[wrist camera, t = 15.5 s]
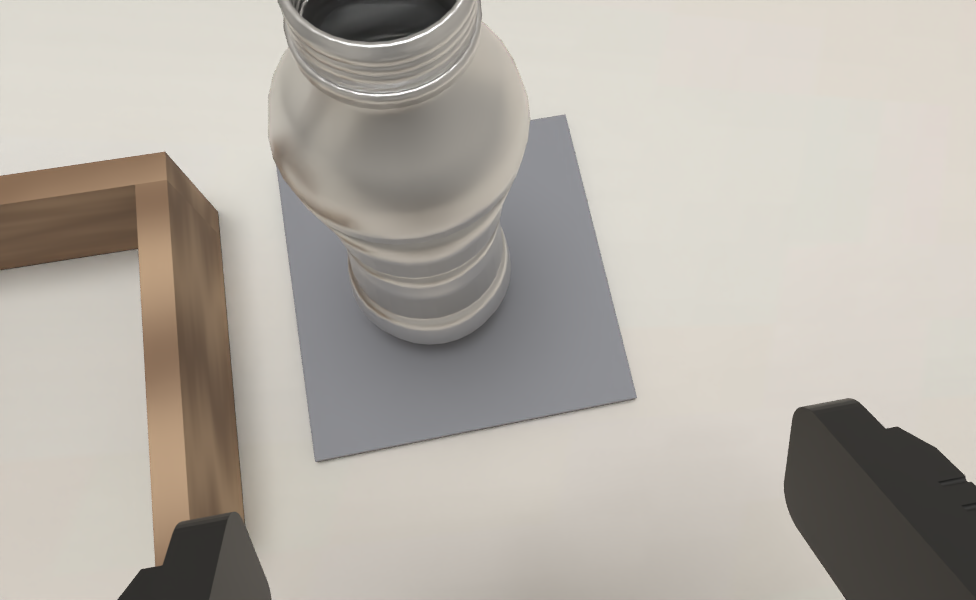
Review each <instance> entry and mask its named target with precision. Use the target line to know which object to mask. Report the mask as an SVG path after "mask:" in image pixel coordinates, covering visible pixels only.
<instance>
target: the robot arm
mask: <svg viewBox="0 0 976 600" xmlns="http://www.w3.org/2000/svg"><path fill="white" fill-rule="evenodd" d="M784 494H785V499H786V504H787V507H788V510H789V513H790V515H791V518H792V520H793V522H794V524H795V526H796V527H797V529H798V530H799V532H800V533H801V535H802V536H803V538H804V539H805V540H806V542H807V543H808V545H809V546H810V548H811V549H812V551H813V552H814V554H815V555H816V556H817V558H818V559H819V561H820V562H821V564H822V565H823V567H824V568H825V570H826V571H827V572H828V574H829V575H830V577H831V578H832V580H833V581H834V583H835V584H836V586H837V587H838V588H839V590H840V591H841V593H842V594H843V596H844V597H845V599H846V600H976V486H975V485H974V484H973V483H972V482H967V481H966V478H965V475H964V474H963V473H962V472H961V471H960V470H959V469H958V468H957V467H955V466H954V465H953V464H952V463H951V462H950V461H949V460H948V459H947V458H946V457H945V456H944V455H943V454H942V453H941V452H940V451H939V450H938V449H937V448H935V447H933V446H932V445H930V444H928V443H926V442H924V441H923V440H921V439H919V438H917V437H915V436H913V435H912V434H910V433H908V432H906V431H904V430H903V429H901V428H899V427H893V428H887V429H885V428H884V427H883V426H882V425H881V424H880V423H879V422H878V421H877V420H876V418H875V417H874V416H873V415H872V414H871V413H870V412H869V411H868V410H867V409H866V408H865V407H864V406H863V405H862V404H860V403H859V402H858V401H856V400H854V399H851V398H847V399H842V400H836V401H831V402H826V403H820V404H815V405H810V406H804V407H800V408H798V409H797V410H796V411H795V412H794V415H793V419H792V426H791V433H790V441H789V449H788V456H787V464H786V472H785V479H784ZM118 600H271V594H270V589H269V585H268V582H267V579H266V577H265V574H264V572H263V569H262V567H261V564H260V562H259V559H258V557H257V554H256V552H255V549H254V547H253V544H252V542H251V539H250V537H249V534H248V532H247V529H246V527H245V524H244V522H243V520H242V518H241V516H240V515H239V514H238V513H237V512H229V513H224V514H218V515H213V516H208V517H202V518H197V519H192V520H186V521H181V522H179V523H178V524H177V525H176V527H175V529H174V531H173V533H172V536H171V540H170V543H169V546H168V549H167V552H166V556H165V559H164V562H163V565H161V566H156V567H151V568H146V569H141V570H140V571H139V573H138V574H137V575H136V577H135V578H134V579H133V580H132V582H131V583H130V584H129V586H128V587H127V588H126V589H125V591H124V592H123V593H122V595H121V596H120V597H119V599H118Z"/></svg>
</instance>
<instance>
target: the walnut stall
mask: <svg viewBox="0 0 976 600" xmlns="http://www.w3.org/2000/svg"><path fill="white" fill-rule="evenodd" d="M131 249H138V251H139V270H140V288H141V307H142V326H143V344H144V363H145V382H146V400H147V419H148V438H149V456H150V475H151V493H152V512H153V531H154V549H155V567H156V566H161V565H163V562H164V559H165V556H166V552H167V549H168V546H169V543H170V540H171V536H172V533H173V531H174V529H175V527H176V525H177V524H178V523H179V522H181V521H186V520H192V519H197V518H202V517H208V516H213V515H218V514H224V513H229V512H237V513H238V514H239V515H240V516H241V518H242V520H243V522H244V510H243V498H242V487H241V475H240V463H239V452H238V440H237V429H236V417H235V405H234V394H233V382H232V370H231V359H230V347H229V336H228V324H227V312H226V301H225V289H224V277H223V266H222V254H221V243H220V231H219V219H218V211H217V210H216V209H215V208H214V207H213V206H212V205H211V204H210V202H209V201H208V200H207V199H206V198H205V197H204V196H203V194H202V193H201V192H200V191H199V190H198V189H197V188H196V186H195V185H194V184H193V183H192V182H191V181H190V180H189V178H188V177H187V176H186V175H185V174H184V173H183V172H182V170H181V169H180V168H179V167H178V166H177V165H176V164H175V162H174V161H173V160H172V159H171V158H170V157H169V156H168V154H167V153H166V152H160V153H153V154H146V155H140V156H133V157H126V158H119V159H112V160H105V161H99V162H92V163H85V164H78V165H71V166H65V167H58V168H51V169H44V170H37V171H30V172H24V173H17V174H10V175H3V176H0V270H3V269H9V268H16V267H22V266H28V265H35V264H41V263H48V262H54V261H61V260H67V259H73V258H80V257H86V256H93V255H99V254H105V253H112V252H118V251H125V250H131ZM244 524H245V522H244Z"/></svg>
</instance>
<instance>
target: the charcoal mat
mask: <svg viewBox="0 0 976 600" xmlns="http://www.w3.org/2000/svg"><path fill="white" fill-rule="evenodd" d="M276 167H277V165H276ZM277 174H278V182H279V190H280V197H281V205H282V212H283V220H284V228H285V235H286V243H287V251H288V258H289V266H290V273H291V281H292V289H293V296H294V304H295V312H296V319H297V327H298V334H299V342H300V350H301V357H302V365H303V373H304V380H305V388H306V395H307V403H308V411H309V418H310V426H311V434H312V441H313V449H314V456H315V461H316V462H319V461H324V460H329V459H335V458H340V457H345V456H350V455H355V454H360V453H365V452H370V451H375V450H380V449H385V448H390V447H395V446H400V445H405V444H410V443H415V442H420V441H425V440H430V439H435V438H440V437H445V436H451V435H456V434H461V433H466V432H471V431H476V430H481V429H486V428H491V427H496V426H501V425H506V424H511V423H516V422H521V421H526V420H531V419H536V418H541V417H546V416H551V415H556V414H561V413H567V412H572V411H577V410H582V409H587V408H592V407H597V406H602V405H607V404H612V403H617V402H622V401H627V400H632V399H635V398H637V396H636V392H635V388H634V384H633V380H632V376H631V372H630V368H629V364H628V360H627V356H626V353H625V349H624V345H623V341H622V337H621V333H620V329H619V325H618V321H617V317H616V313H615V309H614V305H613V301H612V297H611V293H610V289H609V285H608V281H607V277H606V274H605V270H604V266H603V262H602V258H601V254H600V250H599V246H598V242H597V238H596V234H595V230H594V226H593V222H592V218H591V214H590V210H589V206H588V202H587V198H586V195H585V191H584V187H583V183H582V179H581V175H580V171H579V167H578V163H577V159H576V155H575V151H574V147H573V143H572V139H571V135H570V131H569V127H568V123H567V119H566V116H565V115H559V116H553V117H547V118H541V119H535V120H530V125H529V133H528V141H527V144H526V148H525V151H524V155H523V158H522V161H521V164H520V167H519V170H518V173H517V175H516V177H515V179H514V181H513V184H512V186H511V188H510V190H509V192H508V194H507V196H506V198H505V200H504V203H503V205H502V210H501V215H500V226H501V228H502V229H503V232H504V235H505V238H506V242H507V245H508V249H509V253H510V262H511V273H510V281H509V285H508V288H507V291H506V294H505V296H504V298H503V300H502V301H501V303H500V305H499V307H498V308H497V310H496V311H495V312H494V313H493V314H492V315H491V316H490V317H489V319H488V320H487V321H486V322H485V323H484V324H483V325H482V326H480V327H479V328H478V329H476V330H475V331H474V332H472V333H471V334H469V335H467V336H465V337H463V338H460V339H458V340H455V341H451V342H448V343H444V344H433V345H427V344H417V343H412V342H409V341H406V340H402V339H399V338H397V337H395V336H393V335H391V334H389V333H387V332H385V331H383V330H381V329H380V328H379V327H378V326H376V325H375V324H374V323H373V322H372V321H370V320H369V319H368V317H367V316H366V315H365V314H364V312H363V311H362V310H361V309H360V307H359V305H358V303H357V301H356V299H355V297H354V295H353V292H352V288H351V284H350V279H349V273H348V252H347V249H346V247H345V245H344V244H343V243H342V242H341V240H340V239H339V237H338V236H337V235H336V234H335V233H334V232H333V231H332V230H331V229H330V228H328V227H327V226H326V225H325V224H324V223H323V222H322V221H321V220H319V219H318V218H317V217H316V216H315V215H314V214H313V213H312V212H310V211H309V210H308V209H307V208H306V206H305V205H304V204H303V203H302V201H301V200H300V199H299V198H298V197H297V195H296V194H295V193H294V192H293V190H292V189H291V188H290V187H289V185H288V184H287V183H286V182H285V180H284V179H283V177H282V175H281V173H280V171H279V169H278V167H277Z"/></svg>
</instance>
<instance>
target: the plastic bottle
mask: <svg viewBox="0 0 976 600" xmlns="http://www.w3.org/2000/svg"><path fill="white" fill-rule="evenodd" d="M278 3H279V6H280V8H281V11H282V14H283V17H284V31H285V35H286V39H287V43H288V46H289V47H288V49H287V50H286V51H285V53H284V54H283V55H282V57H281V60H280V62H279V64H278V66H277V68H276V70H275V72H274V74H273V78H272V82H271V86H270V91H269V95H268V138H269V143H270V147H271V151H272V155H273V159H274V161H275V163H276V165H277V167H278V169H279V171H280V173H281V175H282V177H283V179H284V180H285V182H286V183H287V184H288V185H289V187H290V188H291V189H292V190H293V192H294V193H295V194H296V195H297V197H298V198H299V199H300V200H301V201H302V203H303V204H304V205H305V206H306V208H307V209H308V210H309V211H310V212H312V213H313V214H314V215H315V216H316V217H317V218H318V219H319V220H321V221H322V222H323V223H324V224H325V225H326V226H327V227H328V228H330V229H331V230H332V231H333V232H334V233H335V234H336V235H337V236H338V237H339V239H340V240H341V242H342V243H343V244H344V245H345V247H346V249H347V252H348V273H349V279H350V284H351V288H352V292H353V295H354V297H355V299H356V301H357V303H358V305H359V307H360V309H361V310H362V311H363V312H364V314H365V315H366V316H367V317H368V319H369V320H370V321H372V322H373V323H374V324H375V325H376V326H378V327H379V328H380V329H381V330H383V331H385V332H387V333H389V334H391V335H393V336H395V337H397V338H399V339H402V340H406V341H409V342H412V343H417V344H427V345H433V344H444V343H448V342H451V341H455V340H458V339H460V338H463V337H465V336H467V335H469V334H471V333H472V332H474V331H475V330H476V329H478V328H479V327H480V326H482V325H483V324H484V323H485V322H486V321H487V320H488V319H489V317H490V316H491V315H492V314H493V313H494V312H495V311H496V310H497V308H498V307H499V305H500V303H501V301H502V300H503V298H504V296H505V294H506V291H507V288H508V285H509V281H510V273H511V262H510V253H509V249H508V245H507V242H506V238H505V235H504V232H503V229H502V228H501V226H500V215H501V210H502V205H503V203H504V200H505V198H506V196H507V194H508V192H509V190H510V188H511V186H512V184H513V181H514V179H515V177H516V175H517V173H518V170H519V167H520V164H521V161H522V158H523V155H524V151H525V148H526V144H527V141H528V133H529V125H530V112H529V103H528V96H527V93H526V90H525V87H524V85H523V82H522V79H521V76H520V74H519V71H518V69H517V67H516V64H515V62H514V60H513V58H512V56H511V55H510V53H509V51H508V50H507V48H506V47H505V45H504V43H503V42H502V40H501V39H500V38H499V37H498V36H497V35H496V34H495V33H494V32H493V31H492V30H491V29H490V28H489V27H488V26H487V25H486V24H485V23H483V22H482V11H481V1H480V0H278Z"/></svg>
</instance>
